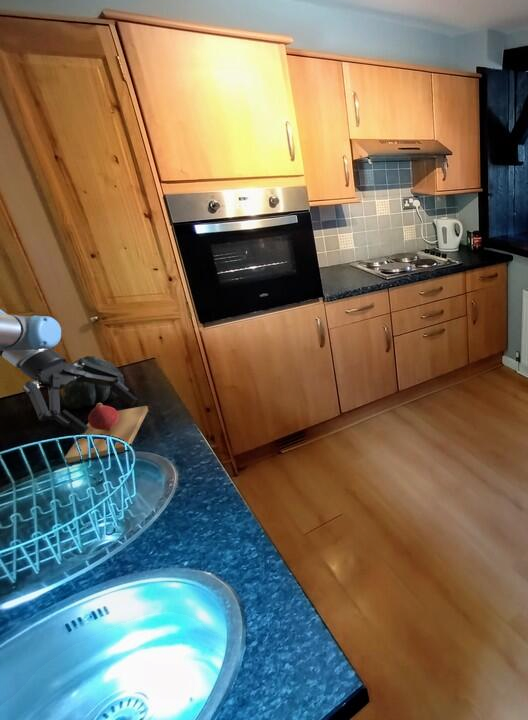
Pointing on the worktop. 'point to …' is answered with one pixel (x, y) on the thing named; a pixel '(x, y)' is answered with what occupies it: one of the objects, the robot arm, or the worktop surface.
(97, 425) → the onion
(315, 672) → the worktop surface
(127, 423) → the cutting board
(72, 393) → the squash
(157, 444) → the worktop surface
